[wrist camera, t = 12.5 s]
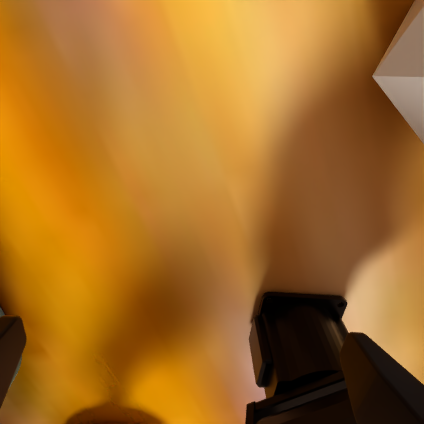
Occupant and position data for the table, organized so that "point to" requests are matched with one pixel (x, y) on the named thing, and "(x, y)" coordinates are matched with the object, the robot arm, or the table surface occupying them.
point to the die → (406, 69)
